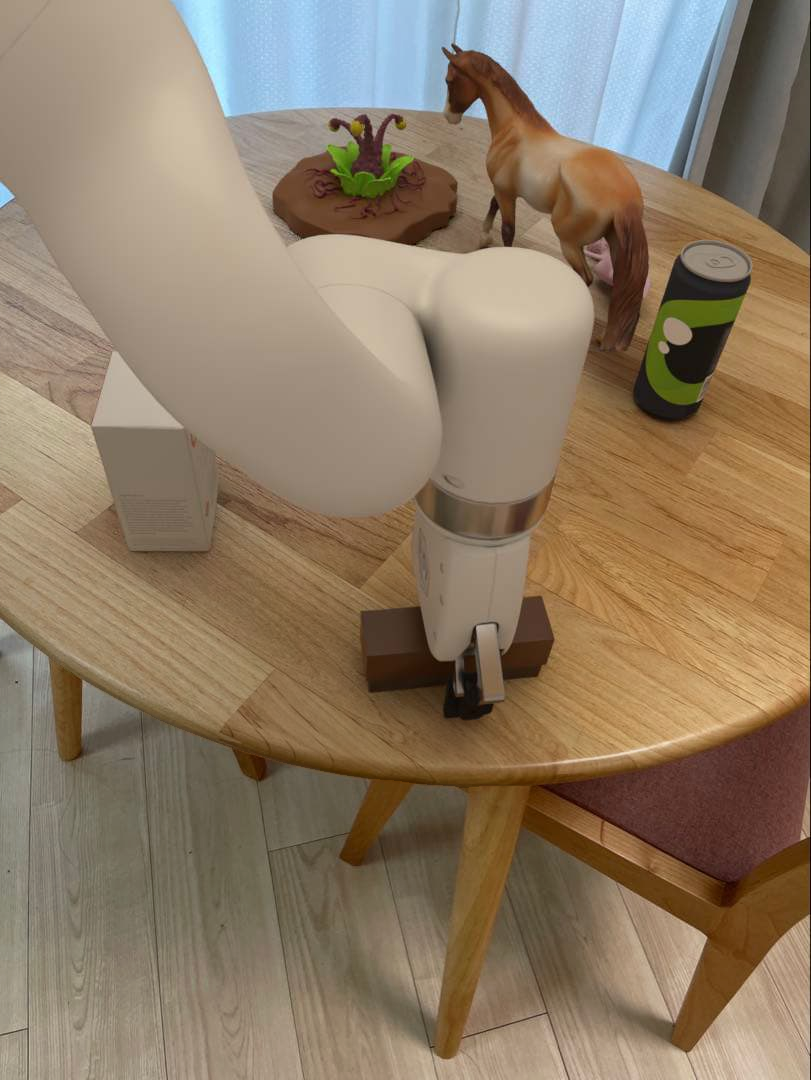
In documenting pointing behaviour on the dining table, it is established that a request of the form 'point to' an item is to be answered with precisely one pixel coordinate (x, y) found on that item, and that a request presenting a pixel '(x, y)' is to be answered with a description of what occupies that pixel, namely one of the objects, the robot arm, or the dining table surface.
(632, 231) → the horse figurine
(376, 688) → the brown wooden block
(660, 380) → the beverage can
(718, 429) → the dining table surface
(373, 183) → the plant
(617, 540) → the dining table surface
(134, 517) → the small box
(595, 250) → the rabbit figure
